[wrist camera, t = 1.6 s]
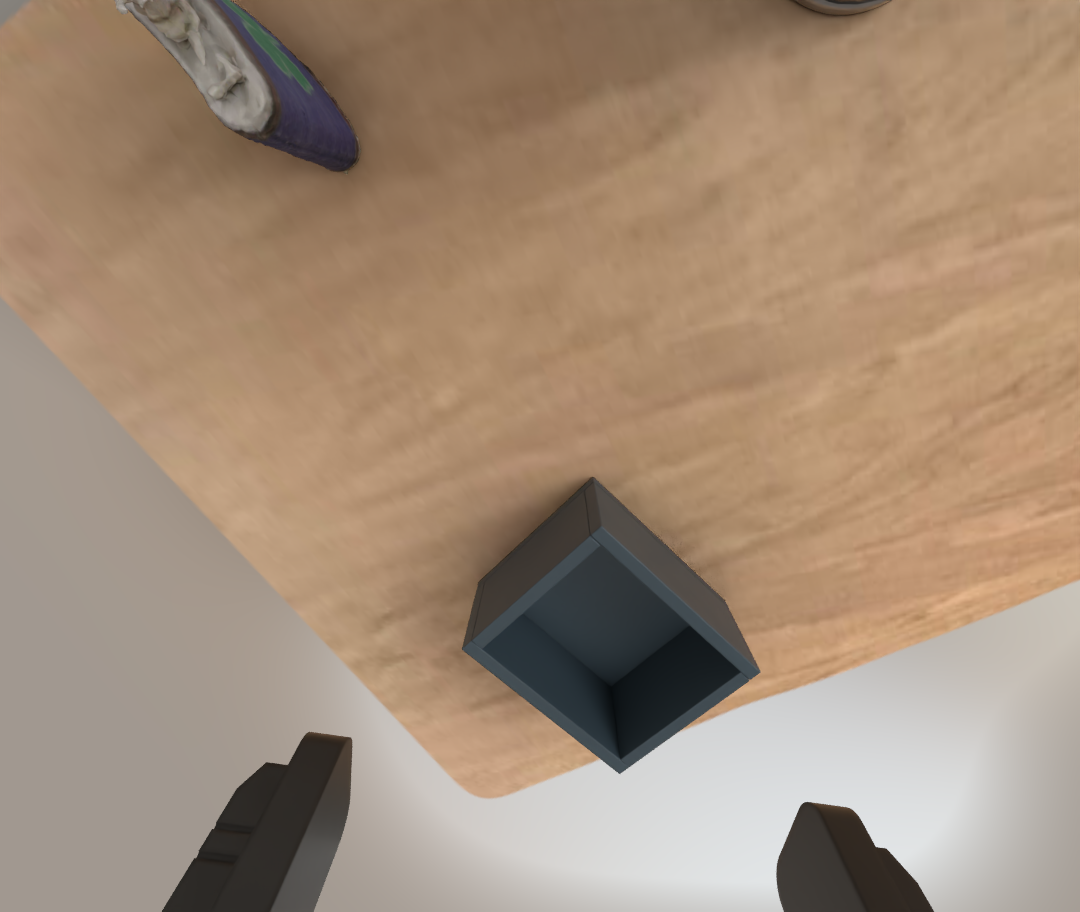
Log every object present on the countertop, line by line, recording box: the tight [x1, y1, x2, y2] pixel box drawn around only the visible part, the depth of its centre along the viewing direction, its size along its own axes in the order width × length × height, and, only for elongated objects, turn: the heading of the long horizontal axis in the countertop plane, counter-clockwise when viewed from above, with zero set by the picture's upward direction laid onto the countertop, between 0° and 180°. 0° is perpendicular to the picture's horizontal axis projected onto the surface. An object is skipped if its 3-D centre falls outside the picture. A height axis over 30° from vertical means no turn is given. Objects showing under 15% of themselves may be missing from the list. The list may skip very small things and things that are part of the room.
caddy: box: [462, 477, 760, 774], centre depth 33 cm, size 11×13×7 cm
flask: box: [114, 0, 361, 174], centre depth 22 cm, size 9×3×11 cm, turn 42°
